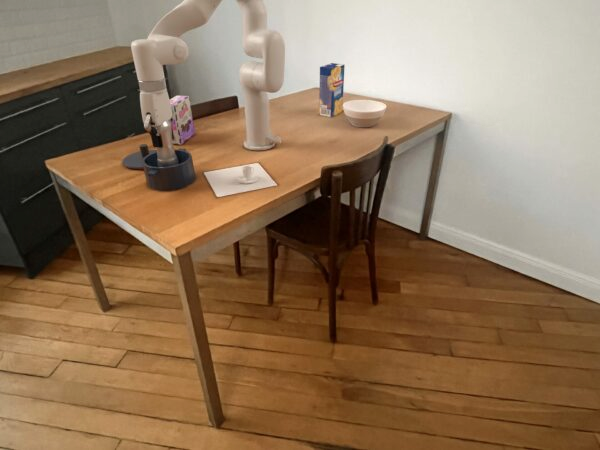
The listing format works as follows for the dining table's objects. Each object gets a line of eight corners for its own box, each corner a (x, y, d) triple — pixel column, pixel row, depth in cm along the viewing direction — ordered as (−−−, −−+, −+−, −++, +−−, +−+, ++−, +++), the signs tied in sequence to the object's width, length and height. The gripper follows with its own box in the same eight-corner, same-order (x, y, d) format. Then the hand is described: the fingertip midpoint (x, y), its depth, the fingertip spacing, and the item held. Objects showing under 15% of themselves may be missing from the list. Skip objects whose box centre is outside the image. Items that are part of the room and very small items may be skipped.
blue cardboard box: (342, 111, 200) (344, 64, 189) (331, 117, 193) (332, 68, 181) (330, 109, 204) (331, 63, 192) (319, 114, 196) (319, 67, 184)
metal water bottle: (183, 167, 136) (173, 108, 126) (171, 175, 131) (159, 114, 120) (167, 165, 138) (155, 106, 127) (155, 173, 133) (141, 112, 122)
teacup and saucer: (237, 186, 132) (236, 175, 130) (231, 177, 138) (229, 166, 136) (263, 181, 135) (262, 170, 132) (255, 172, 141) (254, 161, 139)
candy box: (181, 145, 164) (174, 104, 155) (168, 144, 165) (160, 103, 156) (195, 133, 175) (189, 95, 166) (182, 133, 176) (176, 94, 167)
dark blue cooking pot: (206, 169, 143) (202, 148, 139) (177, 197, 126) (173, 173, 122) (166, 165, 147) (161, 144, 142) (133, 192, 129) (127, 169, 125)
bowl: (365, 134, 173) (366, 114, 168) (332, 123, 185) (333, 105, 181) (393, 124, 183) (395, 105, 179) (361, 114, 196) (362, 97, 191)
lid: (177, 154, 156) (175, 139, 152) (155, 172, 142) (151, 155, 139) (139, 151, 159) (135, 136, 156) (113, 168, 145) (109, 152, 142)
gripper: (156, 78, 128) (166, 133, 137) (124, 92, 113) (138, 152, 123) (178, 79, 126) (187, 134, 136) (148, 93, 112) (160, 154, 122)
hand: (163, 142), depth 129 cm, fingers closed on metal water bottle, 6 cm apart
